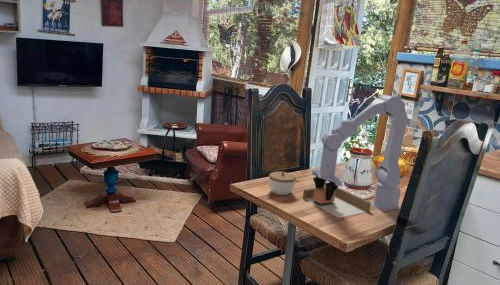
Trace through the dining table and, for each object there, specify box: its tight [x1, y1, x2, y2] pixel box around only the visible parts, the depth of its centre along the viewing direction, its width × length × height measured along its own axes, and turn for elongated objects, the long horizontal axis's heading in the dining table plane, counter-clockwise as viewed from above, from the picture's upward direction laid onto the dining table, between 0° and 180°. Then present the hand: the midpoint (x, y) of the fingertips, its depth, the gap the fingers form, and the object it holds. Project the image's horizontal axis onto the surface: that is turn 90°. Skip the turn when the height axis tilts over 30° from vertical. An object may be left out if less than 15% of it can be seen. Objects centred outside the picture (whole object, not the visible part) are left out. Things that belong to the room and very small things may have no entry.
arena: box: [302, 185, 372, 219], centre depth 145 cm, size 16×20×4 cm
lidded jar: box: [268, 171, 297, 196], centre depth 152 cm, size 11×11×9 cm
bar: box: [313, 187, 336, 204], centre depth 145 cm, size 7×4×4 cm, turn 120°
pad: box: [310, 200, 336, 208], centre depth 146 cm, size 8×6×1 cm
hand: (323, 197), depth 145 cm, fingers closed on bar, 4 cm apart
